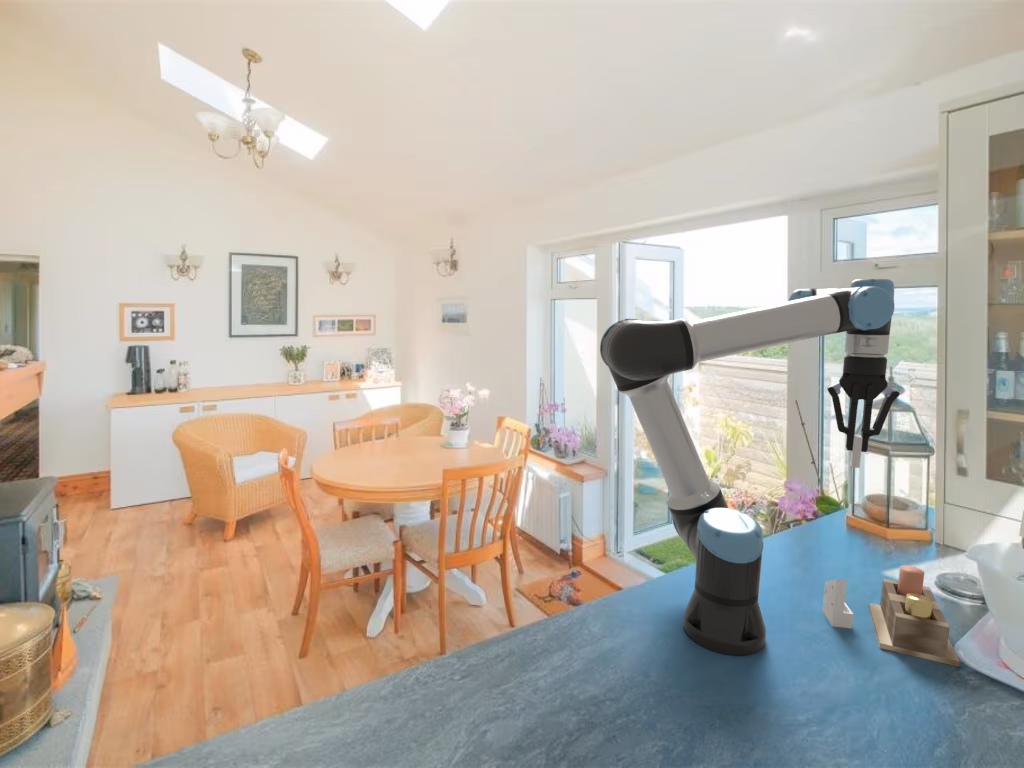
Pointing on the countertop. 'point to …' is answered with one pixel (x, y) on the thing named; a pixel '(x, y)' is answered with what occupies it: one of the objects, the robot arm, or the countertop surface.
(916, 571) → the red plug
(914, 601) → the brass plug
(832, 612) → the white wedge bracket
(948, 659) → the socket block
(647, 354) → the robot arm
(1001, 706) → the countertop surface
